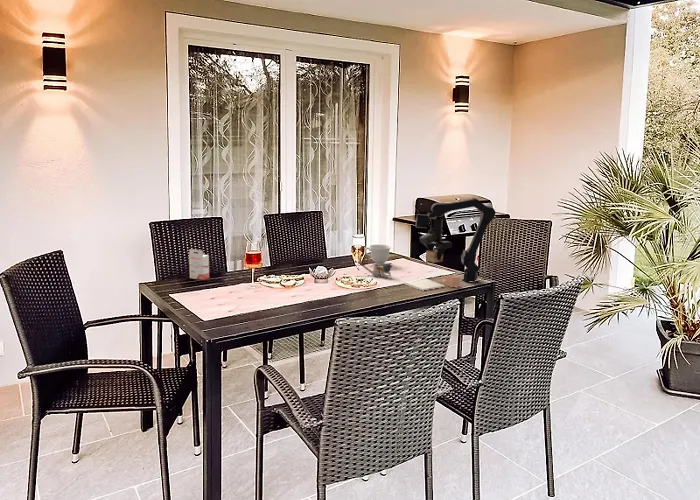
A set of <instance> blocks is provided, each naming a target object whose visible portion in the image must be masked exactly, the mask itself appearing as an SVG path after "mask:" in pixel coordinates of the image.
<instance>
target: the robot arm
mask: <svg viewBox="0 0 700 500" xmlns="http://www.w3.org/2000/svg"><path fill="white" fill-rule="evenodd" d="M468 208H475V209H477V210H478V211H480V213H479V214H480V215H479V223H478V224H477V227H476V229H475V232H474V234H473V237H472V239H471V242H470V244H469V246H468V248H467V249H466V250H465V249H463V250H462V254H461V255H460V258H461V259H460V260H461V263H462V265H463V266H464V267H465V268H464V272H463V278H461V281H463V280H464V281H463V282H466V281H475V280H476V279H477V280H478V275H479V273H478V271H479V268H480V267H479V266H478V264H477V263H476V259H477V253H478V252H477V251H478V250H479V249H478V248H479V246H480V244H481V242H482V239H483V237H484V234H485V232H486V231H487V227H488V226H489V224H491V223H492V221H493V219H494V218H495V216H496V210H495V209H494V208H493V207H492V206H490V205H486V204H484V203H483V202H481V201H479V199H477V198H475V197H473V198H470V199H463V200H458V201H453V202H435V203H433V204H432V205H431V208H430V210H429V211H428V212H427V213H426V214H422V213H421V214H420V213H417V214H416V219H415V228H418V229H428V227H429V228H430V229H428V231H427V233H425V234H423V235H421V236H419V243H421V244H422V245H423V246H425V248H426V251H427V250H437V259H438V260H440V258H441V257H442V255H443V256H444V253H445V251H446V250H447V249H451V248H452V247H453V243H452V242H451V241H448V240H444V238H442V236H443V235H442V234H444V232H445V231H444V230H443V221H447V220H448V219H447V217H445V215H444V214H447V213H449V212H452V211H457V210H463V209H468ZM435 245H437V246H436V247H435Z"/></svg>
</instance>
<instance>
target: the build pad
mask: <svg viewBox="0 0 700 500" xmlns="http://www.w3.org/2000/svg"><path fill="white" fill-rule="evenodd" d="M404 285H405V286H409V287H410V288H414V289H416V290H418V289H419V291H421V290H422V291H421V292H425V291H424V290H427V291H430V290H429V289H433V290H436V289H435V288H439V289H442V288H441V287H445V288H446V286H445V284H442V283H439V282H436V281H434V280H431V279H427V278H424V279H417V280H410V281H405V282H404Z"/></svg>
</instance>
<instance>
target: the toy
mask: <svg viewBox="0 0 700 500" xmlns="http://www.w3.org/2000/svg"><path fill="white" fill-rule="evenodd" d="M357 263H358V264H359V265H360V266H361V267H363V268H364V269H365V270H366V271H367V272H369V273H371V274H372V276H373V277H378V278H380V277H381V276H383V277H385V279H389V276H391V269H392V262H389V263H387V262H386V263H385V264H384V265H376V266H375V267H374V268H373V270H371V269H369V268H368V267H367V266H366V265H365V264H364V263H362V262H361V261H357ZM388 275H389V276H388Z"/></svg>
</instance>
